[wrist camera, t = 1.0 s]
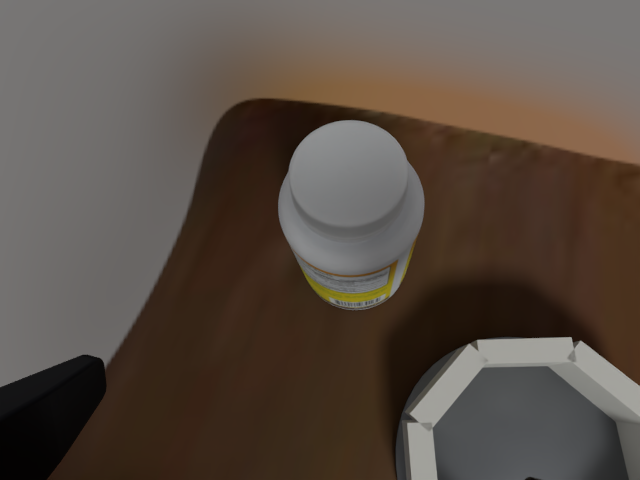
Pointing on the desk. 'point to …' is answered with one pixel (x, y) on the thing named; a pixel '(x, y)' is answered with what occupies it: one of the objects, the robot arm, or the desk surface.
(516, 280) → the desk surface
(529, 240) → the desk surface
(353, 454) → the desk surface
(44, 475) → the robot arm
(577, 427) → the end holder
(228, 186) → the desk surface
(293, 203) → the supplement bottle
